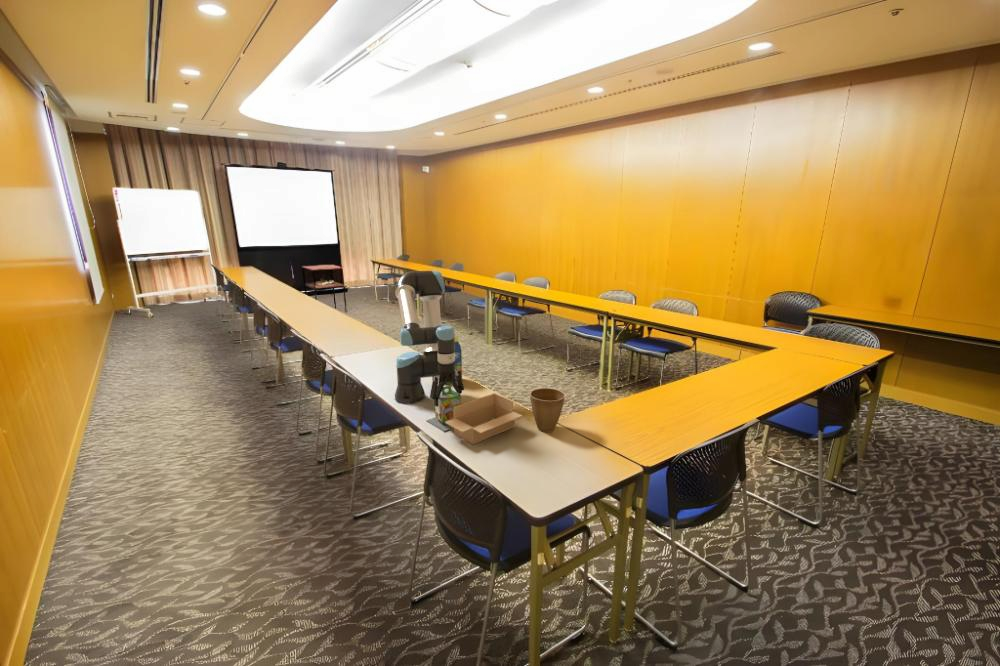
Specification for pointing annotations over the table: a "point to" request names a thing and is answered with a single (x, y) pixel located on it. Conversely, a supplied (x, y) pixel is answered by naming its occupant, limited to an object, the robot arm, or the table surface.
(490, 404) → the carton
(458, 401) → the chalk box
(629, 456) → the table surface
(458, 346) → the blue food package
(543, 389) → the plant pot
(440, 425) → the mat
